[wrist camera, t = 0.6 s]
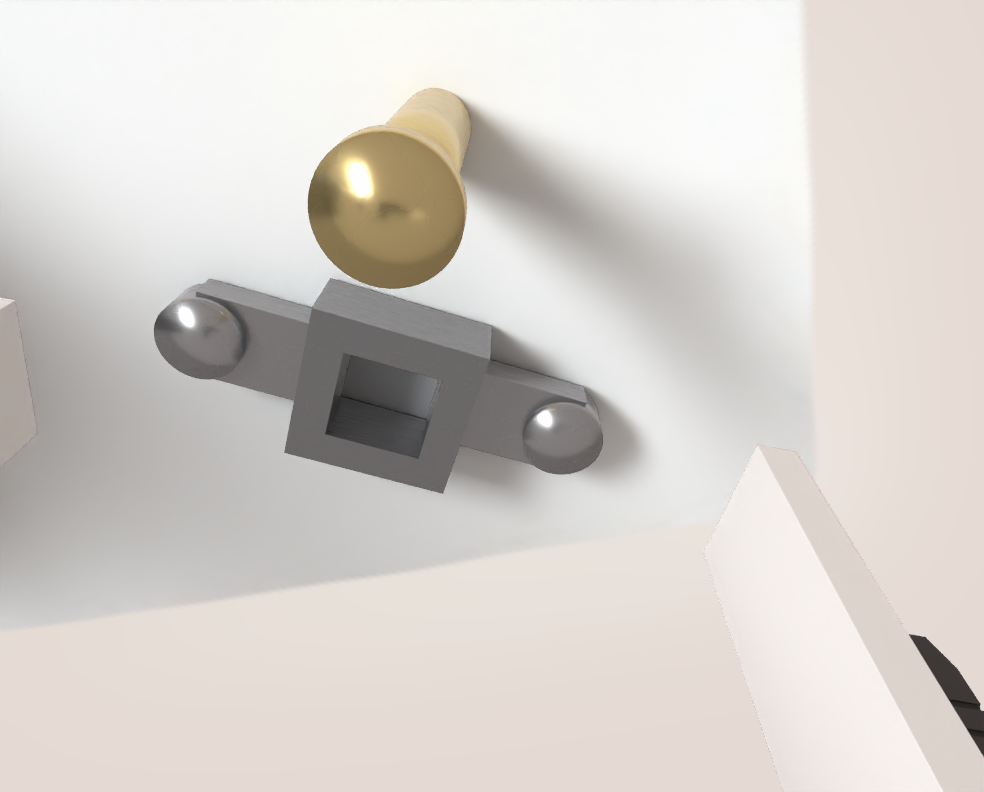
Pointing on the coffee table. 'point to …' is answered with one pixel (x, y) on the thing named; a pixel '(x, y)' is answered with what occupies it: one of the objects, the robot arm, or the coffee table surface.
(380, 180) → the pin
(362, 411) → the chain ends
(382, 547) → the coffee table surface
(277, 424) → the coffee table surface
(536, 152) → the coffee table surface
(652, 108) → the coffee table surface
